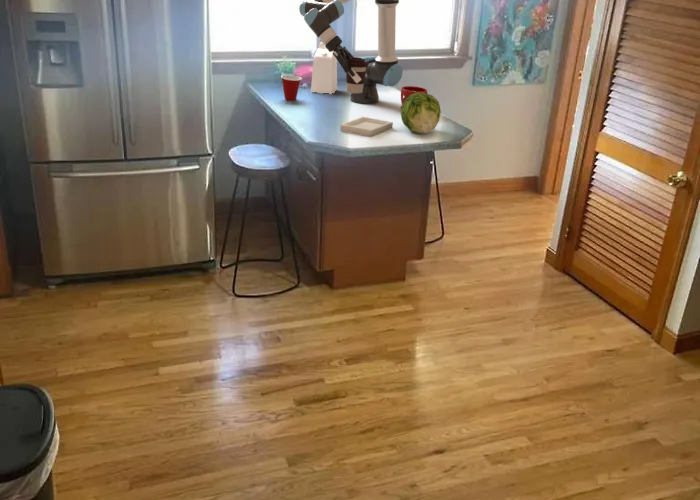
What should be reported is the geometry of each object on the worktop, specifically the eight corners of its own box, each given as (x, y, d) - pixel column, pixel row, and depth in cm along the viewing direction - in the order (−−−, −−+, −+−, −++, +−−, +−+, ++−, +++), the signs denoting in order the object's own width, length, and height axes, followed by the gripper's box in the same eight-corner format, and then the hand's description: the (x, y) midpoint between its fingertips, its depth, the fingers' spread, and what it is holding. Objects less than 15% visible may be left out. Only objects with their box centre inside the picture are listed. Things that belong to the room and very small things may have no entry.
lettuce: (403, 121, 315) (440, 98, 313) (388, 100, 334) (423, 77, 332) (421, 151, 326) (456, 129, 324) (405, 129, 345) (439, 108, 342)
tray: (362, 122, 343) (362, 116, 342) (392, 128, 336) (392, 122, 335) (340, 130, 328) (340, 124, 326) (370, 136, 320) (371, 130, 319)
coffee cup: (368, 91, 336) (371, 58, 330) (360, 95, 327) (363, 61, 321) (348, 88, 339) (350, 55, 333) (340, 92, 330) (342, 58, 324)
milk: (337, 90, 408) (338, 42, 397) (331, 94, 397) (333, 45, 387) (316, 88, 410) (317, 41, 399) (310, 92, 400) (312, 43, 389)
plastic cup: (298, 102, 375) (298, 79, 370) (278, 100, 376) (278, 77, 372) (303, 98, 384) (304, 75, 380) (284, 96, 386) (284, 73, 381)
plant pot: (403, 115, 361) (405, 91, 356) (396, 109, 372) (398, 85, 368) (428, 115, 364) (431, 91, 359) (420, 109, 375) (422, 85, 370)
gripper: (332, 42, 338) (362, 80, 341) (317, 48, 318) (349, 89, 321) (343, 31, 335) (374, 70, 338) (329, 37, 315) (362, 78, 318)
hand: (362, 79), depth 330 cm, fingers closed on coffee cup, 10 cm apart
